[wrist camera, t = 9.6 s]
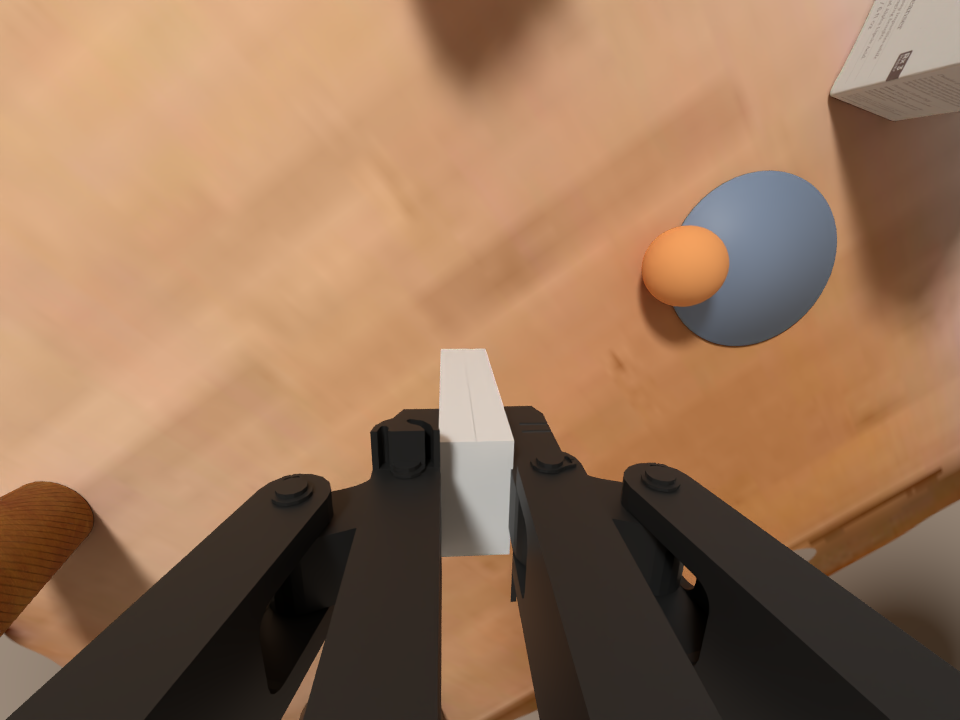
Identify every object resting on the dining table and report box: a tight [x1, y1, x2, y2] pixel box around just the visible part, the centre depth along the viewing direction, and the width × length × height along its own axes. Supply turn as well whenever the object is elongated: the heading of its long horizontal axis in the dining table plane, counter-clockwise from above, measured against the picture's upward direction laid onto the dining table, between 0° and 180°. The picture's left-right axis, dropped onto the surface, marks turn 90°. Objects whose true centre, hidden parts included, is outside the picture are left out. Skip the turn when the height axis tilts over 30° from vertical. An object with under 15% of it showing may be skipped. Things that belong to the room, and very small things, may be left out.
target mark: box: [673, 171, 837, 346], centre depth 34 cm, size 13×13×1 cm
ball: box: [642, 225, 729, 307], centre depth 31 cm, size 6×6×6 cm
